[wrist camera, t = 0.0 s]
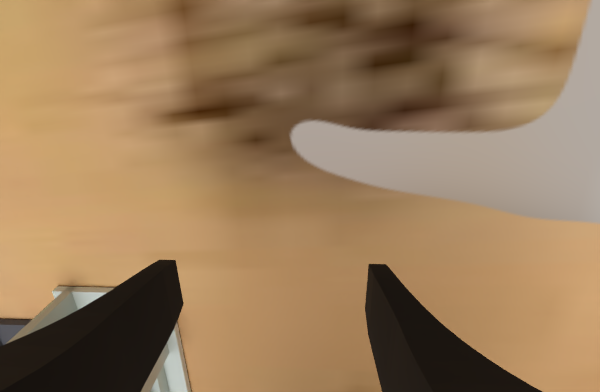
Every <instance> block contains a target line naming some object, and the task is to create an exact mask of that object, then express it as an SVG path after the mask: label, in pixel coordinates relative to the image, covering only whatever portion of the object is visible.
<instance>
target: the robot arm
mask: <svg viewBox="0 0 600 392" xmlns="http://www.w3.org/2000/svg"><path fill="white" fill-rule="evenodd" d="M182 306H183V299H182V293H181V288H180V283H179V277H178V272H177V266H176V261H175V260H158V261H157V262H155V263H153V264H151V265H150V266H148V267H147V268H145V269H143V270H142V271H140V272H139V273H137V274H136V275H134V276H133V277H131V278H129V279H128V280H126V281H125V282H123V283H122V284H120V285H119V286H117V287H115V288H114V289H112V290H111V291H109V292H107V293H106V294H104V295H102V296H101V297H99V298H97V299H96V300H94V301H92V302H91V303H89V304H87V305H86V306H84V307H82V308H80V309H79V310H77V311H75V312H73V313H71V314H69V315H67V316H66V317H64V318H62V319H60V320H58V321H56V322H54V323H52V324H50V325H48V326H45V327H43V328H41V329H39V330H37V331H34V332H32V333H30V334H28V335H25V336H23V337H21V338H19V339H16V340H14V341H12V342H9V343H7V344H5V345H2V346H0V392H141V391H142V388H143V386H144V384H145V383H146V381H147V379H148V377H149V375H150V373H151V371H152V370H153V368H154V366H155V364H156V362H157V360H158V358H159V357H160V355H161V353H162V351H163V349H164V347H165V345H166V343H167V342H168V340H169V338H170V336H171V334H172V332H173V330H174V328H175V325H176V323H177V320H178V318H179V315H180V312H181V309H182ZM365 311H366V320H367V328H368V335H369V339H370V344H371V348H372V352H373V356H374V360H375V364H376V368H377V372H378V376H379V380H380V384H381V388H382V392H542V391H540V390H538V389H536V388H535V387H533V386H531V385H529V384H527V383H526V382H524V381H522V380H521V379H519V378H517V377H516V376H514V375H512V374H511V373H509V372H507V371H506V370H504V369H503V368H501V367H499V366H498V365H496V364H495V363H493V362H492V361H490V360H489V359H487V358H486V357H484V356H483V355H482V354H480V353H479V352H477V351H476V350H474V349H473V348H472V347H470V346H469V345H467V344H466V343H465V342H463V341H462V340H461V339H460V338H458V337H457V336H456V335H455V334H453V333H452V332H451V331H450V330H449V329H447V328H446V327H445V326H444V325H443V324H441V323H440V322H439V321H438V320H437V319H436V318H435V317H434V316H433V315H432V314H431V313H430V312H428V311H427V310H426V309H425V308H424V307H423V306H422V305H421V304H420V302H419V301H418V300H417V299H416V298H415V297H414V296H413V295H412V294H411V293H410V292H409V291H408V290H407V288H406V287H405V286H404V285H403V284H402V283H401V282H400V280H399V279H398V278H397V277H396V276H395V274H394V273H393V272H392V271H391V270H390V268H389V267H388V266H387V265H386V264H369V269H368V281H367V293H366V305H365Z"/></svg>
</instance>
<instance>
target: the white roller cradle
mask: <svg viewBox="0 0 600 392" xmlns="http://www.w3.org/2000/svg"><path fill="white" fill-rule="evenodd" d="M112 289H114V288H110V287H68V286H57V287H56V288H55V289H54V290H53V291H52V292H53V295H54V298H55V299H54V300H53V301H52V302H51V303H50V304H49V305H48V306H46V307H45V308H44V309H43V310H42V311H41V312H40V313H39V314H38V315H37V316H36V317H35V318H33V319H32V320H31V321H30V322H29V323H28V324H27V325H26V326H25V327H24V328H23V329H21V330H20V331H19V332H18V333H17V334H16V335H15V336H14V337H13V338H12V339H11V340H9V341H8V342H7V343H9V342H12V341H14V340H16V339H19V338H21V337H23V336H25V335H28V334H30V333H32V332H34V331H37V330H39V329H41V328H43V327H45V326H48V325H50V324H52V323H54V322H56V321H58V320H60V319H62V318H64V317H66V316H67V315H69V314H71V313H73V312H75V311H77V310H79V309H80V308H82V307H84V306H86V305H87V304H89V303H91V302H92V301H94V300H96V299H97V298H99V297H101V296H102V295H104V294H106V293H107V292H109V291H111V290H112ZM7 343H6V344H7ZM141 392H191V388H190V383H189V378H188V373H187V368H186V363H185V358H184V353H183V348H182V343H181V338H180V333H179V328H178V323H176V325H175V328H174V330H173V332H172V334H171V336H170V338H169V340H168V342H167V343H166V345H165V347H164V349H163V351H162V353H161V355H160V357H159V358H158V360H157V362H156V364H155V366H154V368H153V370H152V371H151V373H150V375H149V377H148V379H147V381H146V383H145V384H144V386H143V388H142V391H141Z"/></svg>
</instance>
